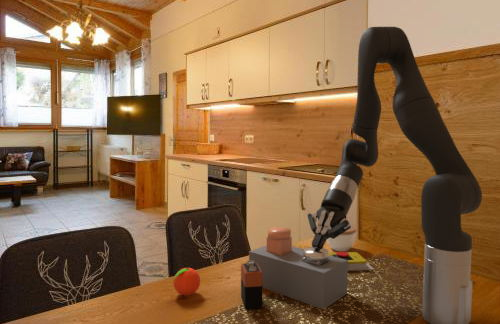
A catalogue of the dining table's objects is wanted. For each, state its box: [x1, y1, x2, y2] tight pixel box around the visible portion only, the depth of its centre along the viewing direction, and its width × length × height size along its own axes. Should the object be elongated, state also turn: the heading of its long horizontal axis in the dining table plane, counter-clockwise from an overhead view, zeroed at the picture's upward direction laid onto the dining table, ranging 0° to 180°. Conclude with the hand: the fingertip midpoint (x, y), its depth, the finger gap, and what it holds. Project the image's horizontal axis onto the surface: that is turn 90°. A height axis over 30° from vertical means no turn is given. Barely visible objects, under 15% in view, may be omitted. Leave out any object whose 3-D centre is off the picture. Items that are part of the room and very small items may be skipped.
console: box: [248, 244, 349, 310], centre depth 102 cm, size 24×12×9 cm, turn 48°
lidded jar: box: [326, 225, 357, 252], centre depth 136 cm, size 11×11×9 cm
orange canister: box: [266, 226, 293, 255], centre depth 105 cm, size 6×6×9 cm
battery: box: [240, 260, 263, 310], centre depth 93 cm, size 4×7×10 cm, turn 10°
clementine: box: [172, 267, 201, 296], centre depth 98 cm, size 8×7×7 cm
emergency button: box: [328, 251, 374, 272], centre depth 120 cm, size 9×4×15 cm
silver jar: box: [302, 246, 330, 266], centre depth 98 cm, size 6×6×9 cm
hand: (315, 248), depth 97 cm, fingers closed
